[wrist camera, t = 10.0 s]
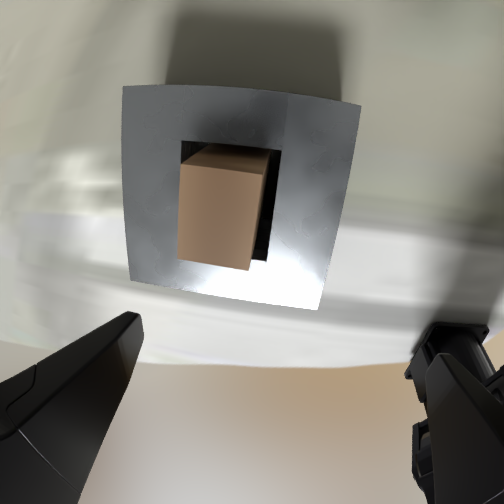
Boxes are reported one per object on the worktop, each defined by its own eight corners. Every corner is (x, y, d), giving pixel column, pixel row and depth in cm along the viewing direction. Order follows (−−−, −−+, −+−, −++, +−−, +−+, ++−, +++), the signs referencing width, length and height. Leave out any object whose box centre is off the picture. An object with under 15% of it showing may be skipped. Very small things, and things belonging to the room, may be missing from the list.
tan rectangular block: (272, 144, 17) (262, 175, 11) (262, 209, 19) (248, 271, 13) (219, 137, 17) (180, 164, 11) (213, 201, 19) (177, 258, 13)
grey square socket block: (341, 102, 15) (361, 105, 11) (312, 260, 20) (317, 309, 16) (164, 85, 16) (122, 86, 12) (161, 239, 21) (130, 280, 16)
